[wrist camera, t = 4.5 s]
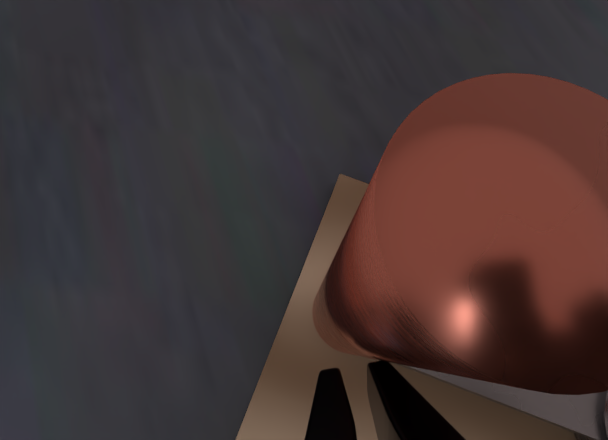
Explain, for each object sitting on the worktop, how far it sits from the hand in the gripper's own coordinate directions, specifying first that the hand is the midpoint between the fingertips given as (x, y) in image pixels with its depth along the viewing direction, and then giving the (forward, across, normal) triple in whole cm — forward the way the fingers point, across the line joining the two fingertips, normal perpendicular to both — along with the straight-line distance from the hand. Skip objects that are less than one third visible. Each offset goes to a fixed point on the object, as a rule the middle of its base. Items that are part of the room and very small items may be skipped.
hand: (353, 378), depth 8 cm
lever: (+3, -8, +6) cm, 10 cm away
